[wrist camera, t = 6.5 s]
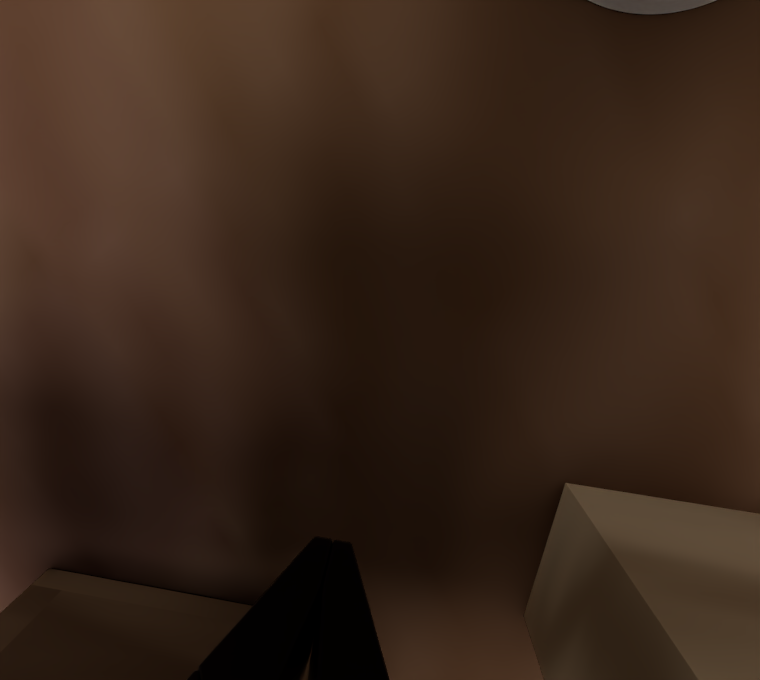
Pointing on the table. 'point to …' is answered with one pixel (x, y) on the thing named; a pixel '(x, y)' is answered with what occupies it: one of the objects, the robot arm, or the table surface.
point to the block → (646, 590)
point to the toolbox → (109, 630)
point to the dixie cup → (651, 5)
